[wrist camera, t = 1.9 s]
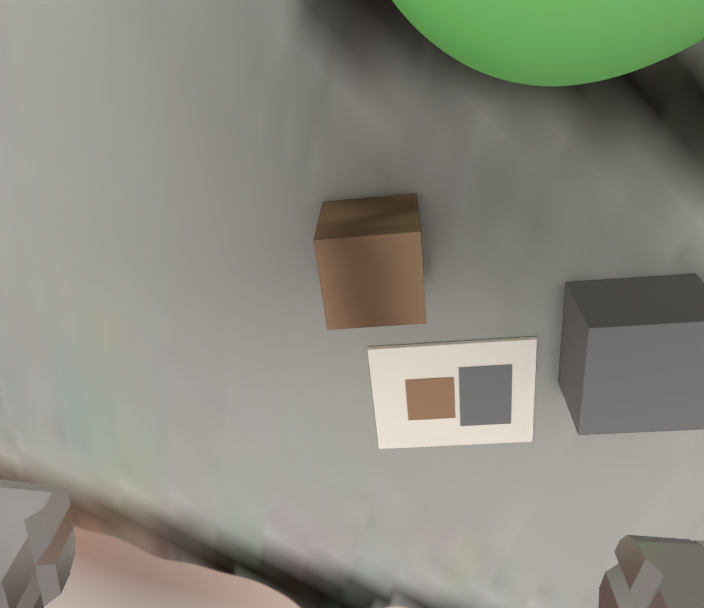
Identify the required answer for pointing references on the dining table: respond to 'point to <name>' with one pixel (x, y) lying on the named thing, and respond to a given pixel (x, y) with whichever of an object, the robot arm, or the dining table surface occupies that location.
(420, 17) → the toy bird
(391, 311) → the walnut cube
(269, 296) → the dining table surface
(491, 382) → the card
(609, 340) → the charcoal base block
